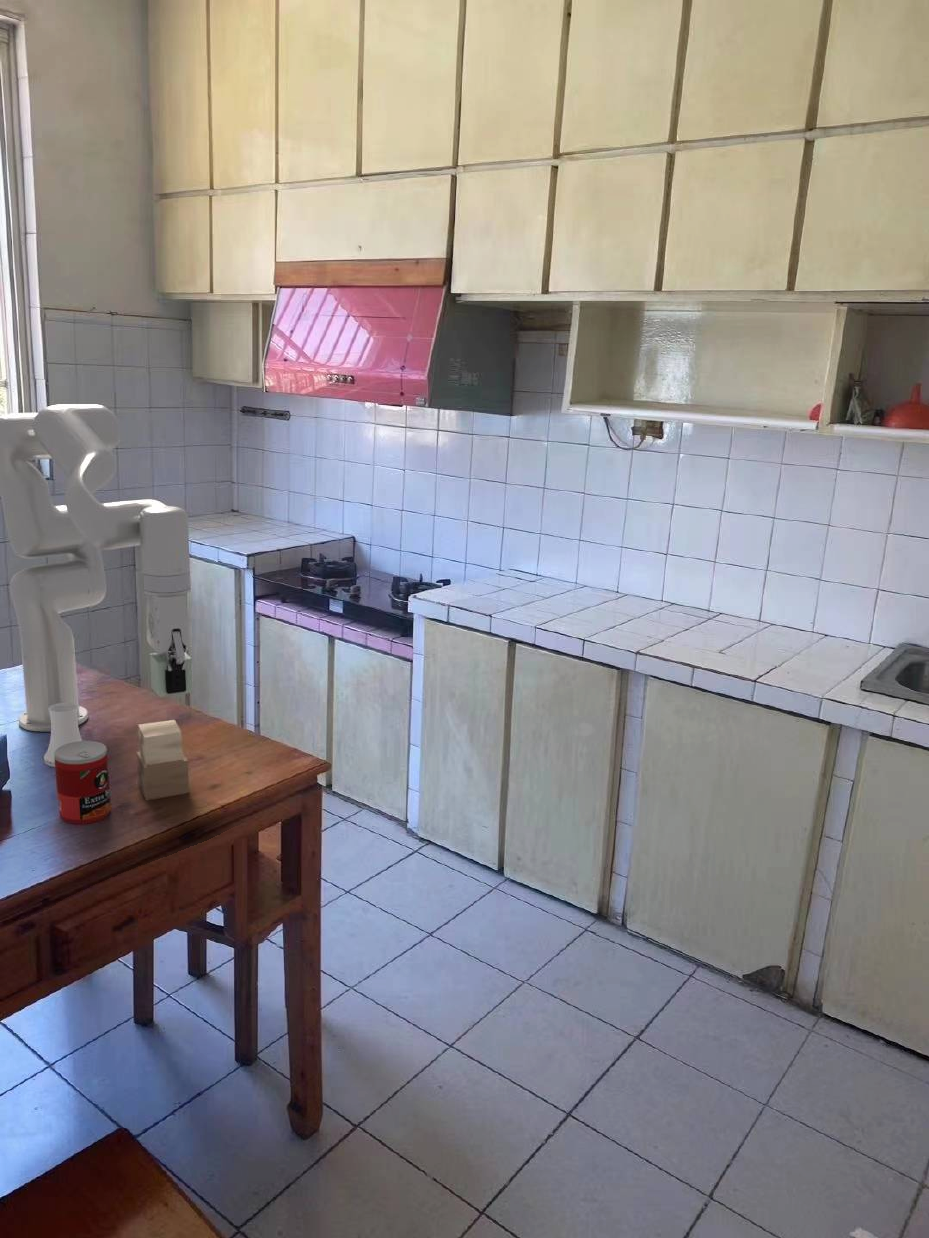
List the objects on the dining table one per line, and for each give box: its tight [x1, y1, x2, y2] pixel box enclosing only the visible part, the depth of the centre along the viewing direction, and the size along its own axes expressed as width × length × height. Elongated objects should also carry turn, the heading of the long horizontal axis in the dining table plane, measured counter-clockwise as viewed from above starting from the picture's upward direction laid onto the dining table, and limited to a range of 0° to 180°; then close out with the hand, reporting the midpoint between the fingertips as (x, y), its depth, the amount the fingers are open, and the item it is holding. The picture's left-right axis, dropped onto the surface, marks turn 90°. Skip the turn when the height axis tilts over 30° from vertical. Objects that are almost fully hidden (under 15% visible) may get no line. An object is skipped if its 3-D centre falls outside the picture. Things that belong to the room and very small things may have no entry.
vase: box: [43, 703, 83, 768], centre depth 166 cm, size 8×8×10 cm
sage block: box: [149, 651, 194, 698], centre depth 155 cm, size 6×6×6 cm
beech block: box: [137, 719, 184, 765], centre depth 155 cm, size 6×6×5 cm
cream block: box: [136, 750, 190, 801], centre depth 157 cm, size 7×7×6 cm
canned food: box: [54, 740, 112, 825], centre depth 146 cm, size 8×8×11 cm
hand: (171, 685), depth 156 cm, fingers closed on sage block, 5 cm apart
